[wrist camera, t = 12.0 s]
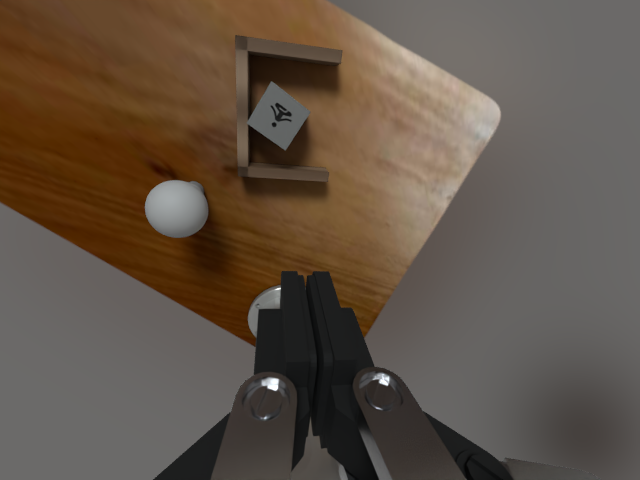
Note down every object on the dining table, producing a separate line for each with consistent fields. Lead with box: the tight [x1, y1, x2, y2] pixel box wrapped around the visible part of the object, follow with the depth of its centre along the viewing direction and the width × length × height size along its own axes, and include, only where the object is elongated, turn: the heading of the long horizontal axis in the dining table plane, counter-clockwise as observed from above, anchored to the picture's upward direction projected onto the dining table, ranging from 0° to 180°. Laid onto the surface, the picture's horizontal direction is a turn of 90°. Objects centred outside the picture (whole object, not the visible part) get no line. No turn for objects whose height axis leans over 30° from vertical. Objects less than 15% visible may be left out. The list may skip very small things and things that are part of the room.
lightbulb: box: [145, 180, 208, 238], centre depth 34 cm, size 6×6×11 cm
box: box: [235, 35, 342, 182], centre depth 35 cm, size 14×11×3 cm
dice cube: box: [247, 81, 310, 151], centre depth 34 cm, size 5×5×5 cm
